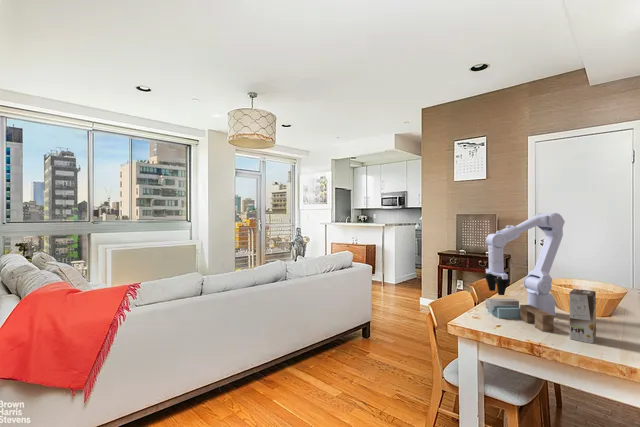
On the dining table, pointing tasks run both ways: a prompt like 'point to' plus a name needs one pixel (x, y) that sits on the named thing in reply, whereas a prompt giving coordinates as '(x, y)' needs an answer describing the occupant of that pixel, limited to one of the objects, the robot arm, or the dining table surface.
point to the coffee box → (583, 315)
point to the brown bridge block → (537, 317)
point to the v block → (506, 313)
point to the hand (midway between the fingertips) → (496, 292)
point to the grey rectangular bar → (501, 303)
